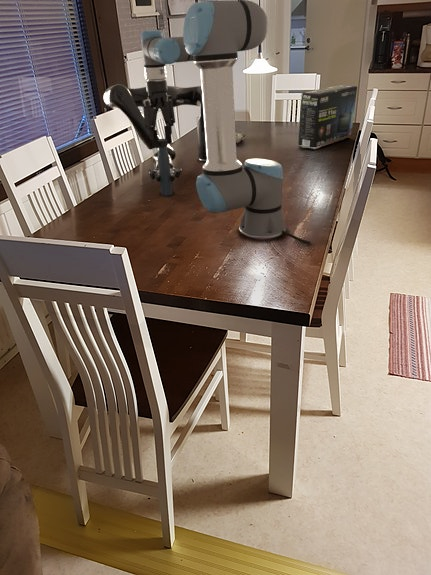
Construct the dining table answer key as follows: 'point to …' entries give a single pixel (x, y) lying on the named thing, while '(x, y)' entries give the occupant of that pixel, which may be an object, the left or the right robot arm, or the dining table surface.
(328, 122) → the router box
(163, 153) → the bottle
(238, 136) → the fossil
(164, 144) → the cap
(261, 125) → the dining table surface
